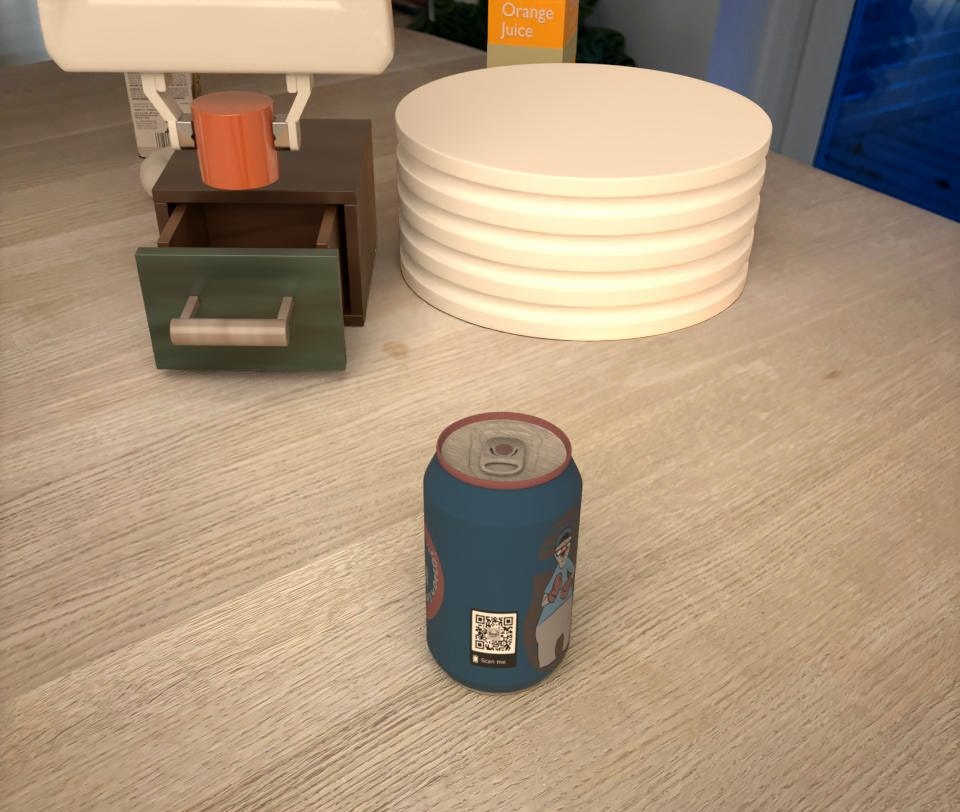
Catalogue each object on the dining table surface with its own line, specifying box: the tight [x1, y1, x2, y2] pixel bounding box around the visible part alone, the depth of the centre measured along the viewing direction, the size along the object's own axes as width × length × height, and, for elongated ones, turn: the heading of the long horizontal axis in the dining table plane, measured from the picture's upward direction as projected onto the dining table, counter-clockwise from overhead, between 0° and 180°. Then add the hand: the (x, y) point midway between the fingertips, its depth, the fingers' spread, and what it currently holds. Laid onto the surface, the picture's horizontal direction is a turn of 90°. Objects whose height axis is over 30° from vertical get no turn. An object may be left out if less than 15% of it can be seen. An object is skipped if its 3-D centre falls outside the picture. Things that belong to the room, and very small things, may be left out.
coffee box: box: [123, 72, 205, 148], centre depth 108 cm, size 9×6×16 cm
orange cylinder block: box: [190, 90, 281, 190], centre depth 70 cm, size 5×5×4 cm
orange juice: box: [486, 0, 580, 68], centre depth 112 cm, size 8×9×20 cm
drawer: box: [134, 203, 349, 372], centre depth 76 cm, size 20×13×8 cm, turn 0°
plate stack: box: [394, 62, 773, 342], centre depth 88 cm, size 28×28×12 cm
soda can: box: [422, 411, 584, 696], centre depth 51 cm, size 7×7×12 cm
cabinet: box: [152, 118, 378, 327], centre depth 85 cm, size 16×14×10 cm
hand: (236, 148), depth 70 cm, fingers closed on orange cylinder block, 5 cm apart
